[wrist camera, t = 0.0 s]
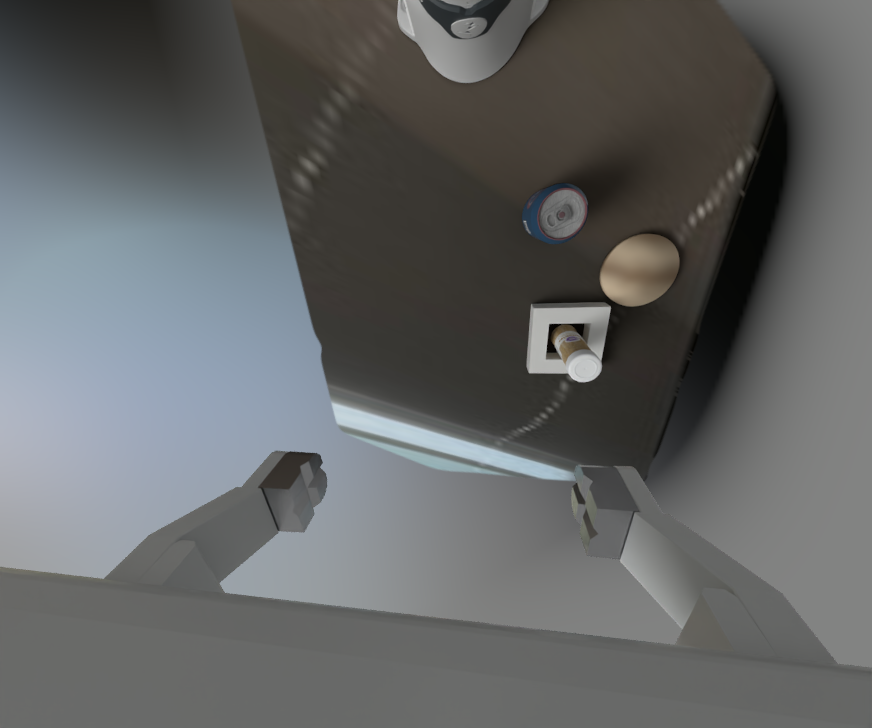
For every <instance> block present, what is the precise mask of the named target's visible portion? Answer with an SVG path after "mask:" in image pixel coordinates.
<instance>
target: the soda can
mask: <svg viewBox="0 0 872 728" xmlns="http://www.w3.org/2000/svg"><path fill="white" fill-rule="evenodd" d="M587 216H588V202H587V199H586V196H585V195H584V193H583V192H582V191H581V190H580V189H579V188H578V187H576V186H574V185H572V184H568V183H560V184H556V185H553V186H550V187H548V188H545V189H542V190H540V191H538V192H536V193H535V194H533V195H532V196H531V197H530V198H529V199H528V201H527V202H526V204H525V206H524V209H523V213H522V221H523V225H524V228H525V230H526V231H527V232H528V233H529V234H530V235H531V236H532V237H534V238H537V239H539V240H541V241H544V242H546V243H549V244H560V243H564V242H567V241H569V240H570V239H572V238H573V237H575V236H576V235H577V234H578V233H579V232H580V231H581V229H582V228H583V226H584V224H585V222H586V219H587Z"/></svg>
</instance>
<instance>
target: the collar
mask: <svg viewBox="0 0 872 728" xmlns="http://www.w3.org/2000/svg"><path fill="white" fill-rule="evenodd" d="M610 310H611V306H609V305H608V304H607V303H605V302H587V303H545V304H531V313H530V326H529V340H528V354H527V369H528V372H529V373H568V372H567V370H566V365H565V363H564V362H563V361H562V359H561V357H560V355H559V353H546V351H547V341H548V331H549V324H574V323H584V330H583V337H582V338H583V340H584V341H585V342H586V344H587V345H588V347H589V348H590V349H591V351H593V352H594V353H595V354H596V355H597V356H598V357H599V359H600V360H602V354H603V349H604V343H605V338H606V332H607V327H608V321H609V316H610Z"/></svg>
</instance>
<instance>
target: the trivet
mask: <svg viewBox="0 0 872 728" xmlns="http://www.w3.org/2000/svg"><path fill="white" fill-rule="evenodd" d="M678 270H679V254H678V251H677V249H676V247H675V246H674V244H673V243H672V242H671V241H670V240H668V239H667V238H665V237H663V236H660V235H655V234H638V235H634V236H631V237H628V238H626V239H624V240H623V241H621V242H620V243H618V244H617V245H616V246H615V247H614V248H613V249H611V251H610V252H609V253H608V254H607V256H606V257H605V259H604V261H603V263H602V266H601V270H600V285H601V288H602V290H603V292H604V293H605V294H606V296H607V297H609V298H610V299H611V300H613V301H614V302H616V303H618V304H620V305H624V306H640V305H644V304H647V303H649V302H652V301H654V300H655V299H657V298H658V297H660V296H661V295H662V294H664V293H665V292H666V291H667V290H668V289H669V287H670V286H671V285H672V283H673V282H674V280H675V278H676V276H677V273H678Z"/></svg>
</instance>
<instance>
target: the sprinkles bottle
mask: <svg viewBox="0 0 872 728" xmlns="http://www.w3.org/2000/svg"><path fill="white" fill-rule="evenodd" d="M551 341H552V343H553V344H554V345H555V348H556V350H557V352H558V353H559V355H560V357H561V359H562V361H563V362H564V363H565V365H566V370H567V372H568V373H569V375H570V376H571V378H573V379H574V380H576V381H579V382H588V381H591V380H593V379H595V378H596V377H597V376H598V375H599V374H600V372H601V370H602V363H601V360H600V359H599V357H598V356H597V355H596V354H595V353H594V352H593V351H591V349H590V348H589V347H588V345H587V344H586V342H585V341H584V340H583V338H582V337H581V336H580V335H579V334H578V333H577V331H576V329H575V328H574V327H573V326H571V325H566V324H565V325H560V326H558V327H556V328H555V329H554V330H553V332H552V334H551Z"/></svg>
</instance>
